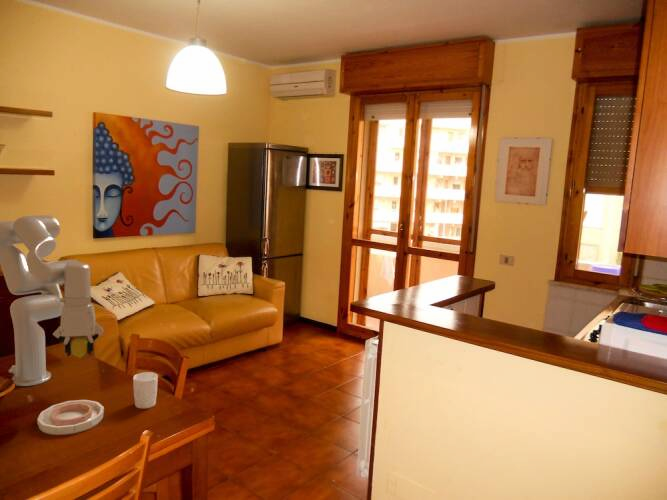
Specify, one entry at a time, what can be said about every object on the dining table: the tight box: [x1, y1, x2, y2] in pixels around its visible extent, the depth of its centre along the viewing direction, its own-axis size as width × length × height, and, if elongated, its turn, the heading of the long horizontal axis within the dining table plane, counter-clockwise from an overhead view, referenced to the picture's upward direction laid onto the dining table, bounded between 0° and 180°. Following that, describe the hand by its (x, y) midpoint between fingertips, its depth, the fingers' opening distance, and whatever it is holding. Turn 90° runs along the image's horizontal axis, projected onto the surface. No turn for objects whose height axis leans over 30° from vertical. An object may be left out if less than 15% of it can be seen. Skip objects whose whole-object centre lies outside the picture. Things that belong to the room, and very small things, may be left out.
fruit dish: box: [36, 399, 105, 436], centre depth 156 cm, size 18×18×3 cm
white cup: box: [132, 371, 159, 409], centre depth 169 cm, size 8×8×10 cm
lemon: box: [70, 336, 89, 359], centre depth 164 cm, size 6×6×8 cm
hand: (79, 353), depth 164 cm, fingers closed on lemon, 5 cm apart
